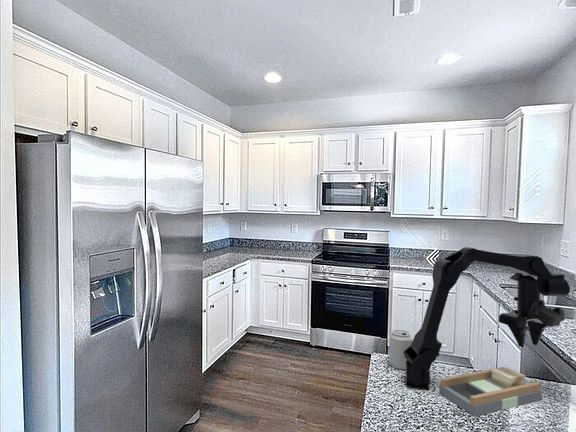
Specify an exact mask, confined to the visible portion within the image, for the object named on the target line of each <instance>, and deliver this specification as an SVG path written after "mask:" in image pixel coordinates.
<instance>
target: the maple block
mask: <svg viewBox="0 0 576 432" xmlns="http://www.w3.org/2000/svg"><path fill="white" fill-rule="evenodd" d="M502 367H503V368H500V367H497V369H495V368H491V369H492V381H493V382H495V383H497V384H499V385H501V386H503V387H505V388H510V387H515V386H520V385H524V384H526V375H525V374H523V373H520V372H518V371H517V370H513V369H511V368H509V367H506V366H502Z"/></svg>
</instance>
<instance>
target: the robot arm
mask: <svg viewBox="0 0 576 432" xmlns="http://www.w3.org/2000/svg"><path fill="white" fill-rule="evenodd" d="M475 261H476V262H479V263H480V262H481V263H486V264H491V265H496V266H497V265H498V266H503V267H507V268H509V269H511V270H514V271H517V272H515V273H514V274H513V275H511V276H510V279H509V280H512V281H516V282H517V290H516V291H517V296H514V297H513V301H516V302H517V304H516V305H517V308H516V309H513V313H512V312H505V313H504V312H503V313H500V314H499V315H498V323H500V324H503V325H507V326H508V328H509V329H510V332H511V333H512V335H513V337H514V339H515V341H516V343H517V345H518V347H520V348H525V340H526V339H525V338H526V332H527V331H529V336H530V340H531V343H532V345H535V346H538V344H539V342H540V339H541V337H542V335H543V332H544V330H545V329H547V328H553V327H559V326H560V324H561V322H562V321H566V320H565V319H566V318H565V310H564V309H563V308H561V307H559V306H558V307H553V308H552V307H548V306H546V303H545V301H544V300H543V299H541V295H542V296H544V297H566V296H568V295H569V294H570V290H571V287H570V284H569V283H568V281H567V280H566V279H565V274H562V273H553V274H552V273H551V272H550V271H549V270H548V268H547V267H546V265H545V261H544V260H543V258H542V257H540V256H538V255H532V254H523V253H511V254H506V253H505V254H504V253H500V252H498V253H497V252H492V251H487V250H482V249H476V248H475V247H470V246H469V247H468V246H464V247H462V248H461V249H459V250H458V251H456V252H454V253H452V254H450V255H448V256H446V257H444V258H441V259H438V260H436V261H435V262H434V264H433V267H432V274H431V275H432V282H433V286H432V290H431V293H430V297H429V300H428V304H427V307H426V311H425V315H424V318H423V321H422V325H421V327H420V329H419V330H418V331H417V332H416V334H415V335H414V337H413V338H412V343H411V345H410V346H409V347H408V348H407V349H406V350H405V351H404V352H403V353H404V356H405V358H406V359H407V360H408V361H406V370H405V375H404V381H405V386H406V387H407V388H412V389H419V390H420V389H421V390H427V391H428V390H429V391H430V385H431V371H430V369H431V367H432V365H433V363H434V362H435V361H436V359H437V357H438V358H439V357H440V350H441V348H442V345H443V343H442V342H440V341H439V340H438V331H439V328H440V325H441V321H442V318H443V315H444V311H445V307H446V305H447V299H448V298H449V294H450V291H451V290H452V289H453V287H454V286H455V285H456V284H457V282H458V280H459V278H460V276H461V274H462V273H464V272H465V271H466V270H467V269H468V268H469V267H470V266H471V265H472V264H473V263H474V262H475ZM523 273H524V274H523ZM525 274H527V275H525Z"/></svg>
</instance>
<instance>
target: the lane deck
mask: <svg viewBox="0 0 576 432" xmlns="http://www.w3.org/2000/svg"><path fill="white" fill-rule="evenodd" d="M503 367H504V366H502V367H499V368H503ZM497 368H498V367H497ZM497 368H496V367H495V368H494V369H497ZM492 369H493V368H491V369H485V370H479V371H474V372H468V373H463V374H458V375H453V376H447V377H442V378H440V379H439V381H440V383H439V389H438V390H439V392H438V393H439V394H440V395H441V396H442V397H445V398H446V399H448V400H449V401H450V402H452V403H454V404H455V405H456V406H457V407H460V408H461V409H463V410H464V411H466V412H467V413H469V414H471V415H472V416H473V417H479V416H482V415H486V414H490V413H493V412H498V411H503V410H506V409H510V408H514V407H518V406H522V405H527V404H530V403H535V402H539V401H542V400H543V391H542V385H541V383H540V382H538V381H535V382H530V383H529V382H528V383H525V384H524V385H520V386H515V387H510V388H505V387H503V386H501V385H499V384H497V383H495V382H493V381H492Z"/></svg>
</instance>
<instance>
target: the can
mask: <svg viewBox="0 0 576 432" xmlns="http://www.w3.org/2000/svg"><path fill="white" fill-rule="evenodd" d="M412 341H413V337H412V336H411V332H409V331H408V330H403V329H392V330H391V333H390V334H389V348H388V349H389V354H388V355H389V359H388V361H389V364H390V365H391V367H392V368H394V369H397V370H401V371H406V361H408V360H407V359H406V358H405V356H404V353H403V352H404V351H405V350H406V349H407V348H408V347H409V346H410V345H411V343H412Z"/></svg>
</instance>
